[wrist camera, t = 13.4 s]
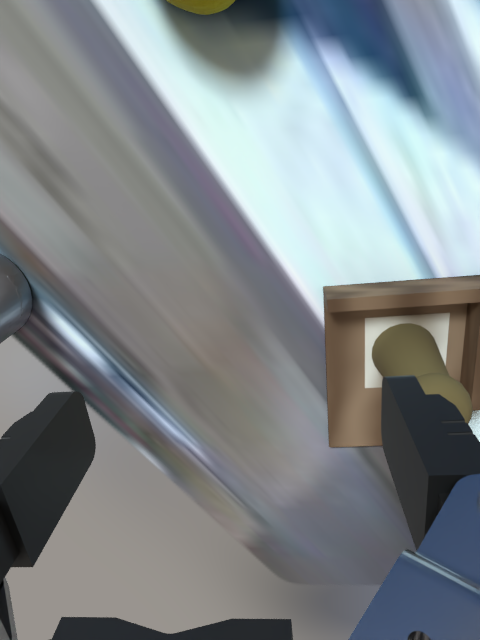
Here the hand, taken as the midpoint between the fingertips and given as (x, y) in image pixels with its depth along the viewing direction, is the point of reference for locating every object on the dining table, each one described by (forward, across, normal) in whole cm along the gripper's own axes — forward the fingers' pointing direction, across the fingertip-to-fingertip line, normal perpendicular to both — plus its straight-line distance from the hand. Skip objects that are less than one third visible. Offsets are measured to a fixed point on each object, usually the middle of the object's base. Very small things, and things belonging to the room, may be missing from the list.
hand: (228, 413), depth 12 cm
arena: (+30, -12, +16) cm, 36 cm away
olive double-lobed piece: (+30, -12, +14) cm, 35 cm away
